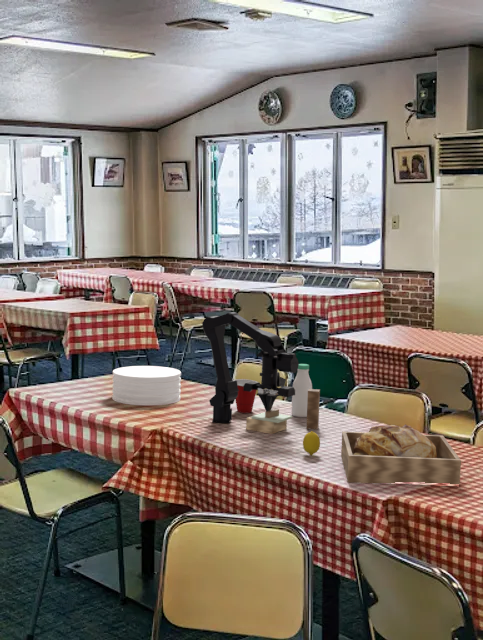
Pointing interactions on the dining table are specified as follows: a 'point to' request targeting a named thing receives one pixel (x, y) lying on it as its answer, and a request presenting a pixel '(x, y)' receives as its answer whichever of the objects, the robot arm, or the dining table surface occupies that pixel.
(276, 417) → the lid
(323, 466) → the dining table surface
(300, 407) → the milk bottle
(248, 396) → the plastic cup
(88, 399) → the dining table surface
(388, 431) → the bread
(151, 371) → the plate stack
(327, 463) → the dining table surface
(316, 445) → the lemon
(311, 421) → the tan rectangular bar
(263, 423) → the open wooden box
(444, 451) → the bread crate
